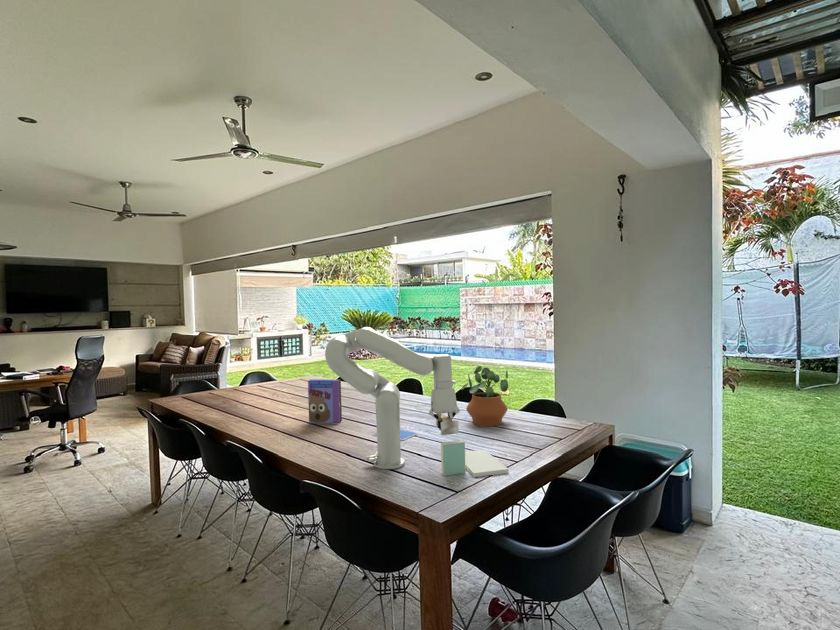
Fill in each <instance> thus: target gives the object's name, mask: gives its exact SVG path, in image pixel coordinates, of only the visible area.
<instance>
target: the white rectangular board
mask: <svg viewBox="0 0 840 630" xmlns="http://www.w3.org/2000/svg"><path fill="white" fill-rule="evenodd" d="M465 468H466V470H467V471H468V473H469V474H470V475H471V476H472V477H473V478H479V477H484V476H492V475H494V476H495V475H503V474H508V473H509V468H508V467H507V466H505V465H504V464H503V463H502V462H501V461H499V460H498V459H497V458H496V457H494V456H493V455H492V454H491V453H489V452H488V451H487V450H486V449H484V448H483V449H477V450H476V449H474V450H465Z"/></svg>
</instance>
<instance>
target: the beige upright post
mask: <svg viewBox="0 0 840 630" xmlns="http://www.w3.org/2000/svg"><path fill="white" fill-rule="evenodd" d="M435 414H436V415H437V413H435ZM441 421H442V422H441V430H440V435H441V436H447V435H455V434H456V435H457V434H460V433H459V430H460V428H459V426H460V425H459V419H457V420H453V419H452V420H451V419H450V418H449V417H448V415H446V413H441ZM435 424H436V426H437V427H438V421H437V419H436V418H435Z"/></svg>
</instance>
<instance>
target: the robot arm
mask: <svg viewBox="0 0 840 630" xmlns="http://www.w3.org/2000/svg"><path fill="white" fill-rule="evenodd" d="M362 349H363V350H366V351H368V352H370V353H373V354H375V355H376V356H378V357H381V358H384V360H385V359H386V360H388V361H390V362H391V363H393V364H396V365H398V366H400V367H402V368H403V369H405V370H408V371H410V372H412V373H415V374H417V375H420V376H428V375H429V374H431V373H432V372H433V375H432V376H433V387H432V388H431V393H430V394H431V395H430V409H429V411H428V415H429V416H431V417H433V418H435V420H436V419H437V421H438V426H437V429H439V431H441V422H442V421H441V413H444V414H447V417H449V418H450V419H451V420H452V421H453V419H454V417H455V416H457V414H459V413H460V412H461V410H460V408H459V406H458V404H457V397H456V396H457V395H456V390H455V387H454V385H456V380H453V368H452V366H453V365H452V357H451V355H450V354H449V353H448V354H447V353H439V354H427V353H426V354H424V353H422V354H420V353H418V352H415V351H413V350H411V349H409V348H408V347H406V346H405V345H403V344H402V343H401V342H399V341H398V340H396V339H394V338H392V337H389V336H387V335H384V334H382V333H380V332H379V331H376V330H375V329H374V328H372V327H369V326H364V327H361V328H359V329H355V330H353V331H350V332H347V333H343V334H341V335H337V336H335V337H333V338H331V339H330V340H329V341H328V343H326V347H325V349H324V350H325V351H324V358H325V361H326V364H327V366H328V368H329V369H330V370H331V372H333V373H334V374H335V375H336V376H337V377H339V378H340V379H341V380H343V381H344V382H346V383H347V385H350V386H351V387H352V388H354V389H355V390H356V391H358V392H359V393H361V394H363V395H368V396H369V395H371V397H373V398H375V400H374V401H375V415H376V433H377V436H376V443H377V444H376V445H377V447H376V448H377V450H376V451H375V454H373V455H366V456H365V462H370V463H373V466H374V467H375V468H377V469H380V470H394V469H398V468H401V467H403V466H404V465H405V464H406V463H405V462H406V461H405V459H404V458H402V457H401V456H402V455H401V454H402V453H401V452H402V451H401V450H402V449H401V448H402V447H401V440H400V430H401V419H400V418H401V415H400V414H401V413H400V409H401V408H400V397H401V393H400V390H399V388H398V386H397V385H396V384H394V383H393V382H392V381H390V380H389V379H388V378H386V377H385V376H383V375H382V374H380V373H379V372H378V371H376V370H374V369H373V368H364V367H362V366H361V365H360V364H359V363H357V362H355V361H354V360H353V359H351V358H350V357H349V356H348V355H349V354H351V353H353V352H356V351H360V350H362ZM436 413H437V415H436Z"/></svg>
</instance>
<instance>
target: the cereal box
mask: <svg viewBox="0 0 840 630" xmlns="http://www.w3.org/2000/svg"><path fill="white" fill-rule="evenodd" d="M341 380H342V379H308V380H307V394H308V395H307V399H308V400H307V401H308V424H317V423H340V422H341V421H342V422H343V417H342V415H343V413H342V412H343V411H342V383H341V382H342V381H341ZM342 422H341V423H342ZM341 423H340V424H341Z"/></svg>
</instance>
